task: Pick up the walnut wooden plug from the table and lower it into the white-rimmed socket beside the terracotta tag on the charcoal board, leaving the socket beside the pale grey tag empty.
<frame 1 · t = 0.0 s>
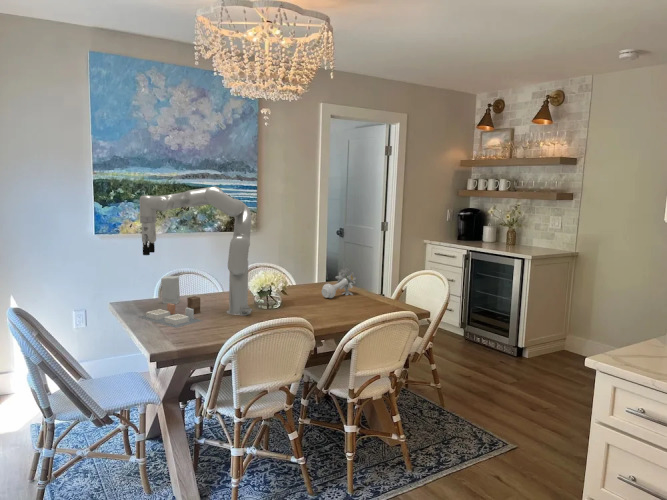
hand: (148, 253, 252), 31 cm above the table, tool pointing down, fingers open, 9 cm apart
terracotta tag: (171, 313, 253), resting on tag board
pale grey tag: (189, 318, 246), resting on tag board
skincare box: (170, 304, 276), on the table
walnut plug: (194, 314, 257), on the table
flower vase: (338, 296, 308), on the table
tag board: (169, 320, 245), on the table
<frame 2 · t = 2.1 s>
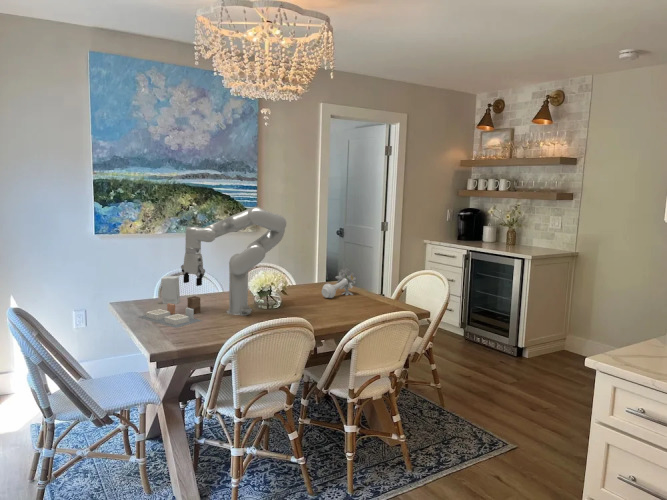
hand: (192, 284, 255), 16 cm above the table, tool pointing down, fingers open, 9 cm apart
nothing on the table moved.
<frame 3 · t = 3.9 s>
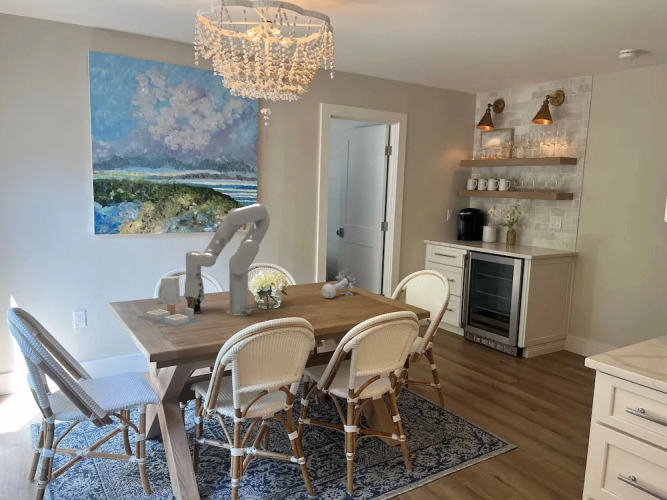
hand: (193, 310, 257), 2 cm above the table, tool pointing down, fingers closed on walnut plug, 4 cm apart
walnut plug: (194, 314, 257), on the table, touching gripper
everything else where it was.
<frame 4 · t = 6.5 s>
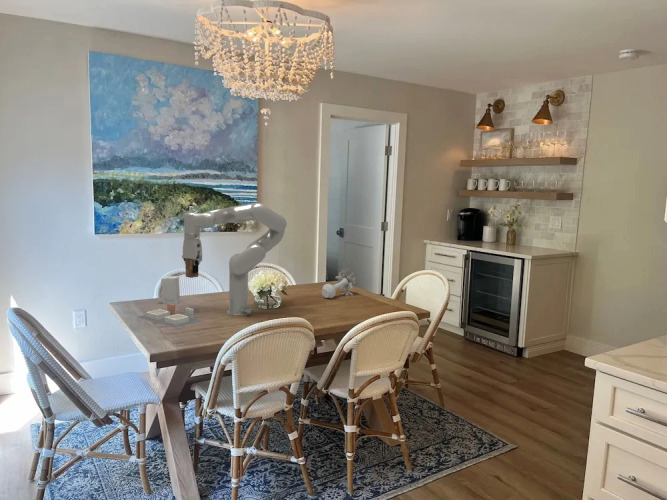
hand: (192, 271, 254), 22 cm above the table, tool pointing down, fingers closed on walnut plug, 4 cm apart
walnut plug: (192, 276, 254), point 20 cm above the table, touching gripper
everything else where it was.
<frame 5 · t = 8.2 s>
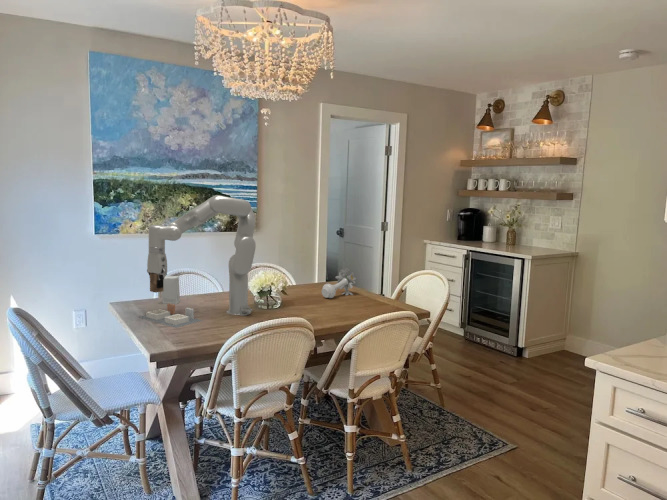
hand: (156, 286, 245), 16 cm above the table, tool pointing down, fingers closed on walnut plug, 4 cm apart
walnut plug: (156, 291, 245), point 14 cm above the table, touching gripper
everything else where it was.
when the fingers open (5 cm above the table, at t = 10.1 s): walnut plug drops 2 cm, resting on tag board.
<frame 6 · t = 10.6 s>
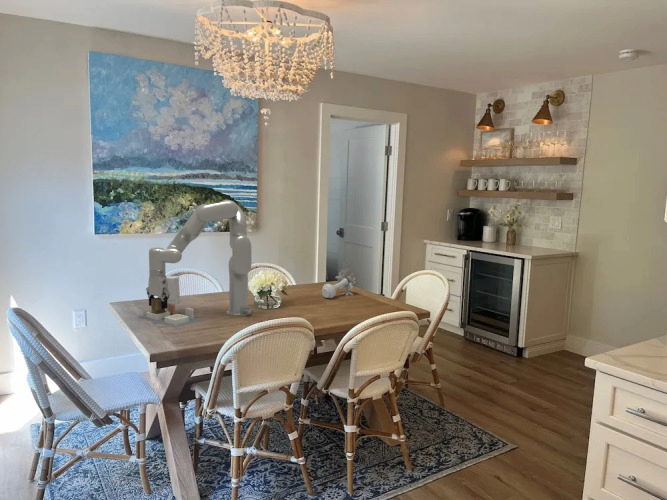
hand: (158, 306, 246), 6 cm above the table, tool pointing down, fingers open, 9 cm apart
walnut plug: (158, 316, 247), point 1 cm above the table, touching tag board
everything else where it was.
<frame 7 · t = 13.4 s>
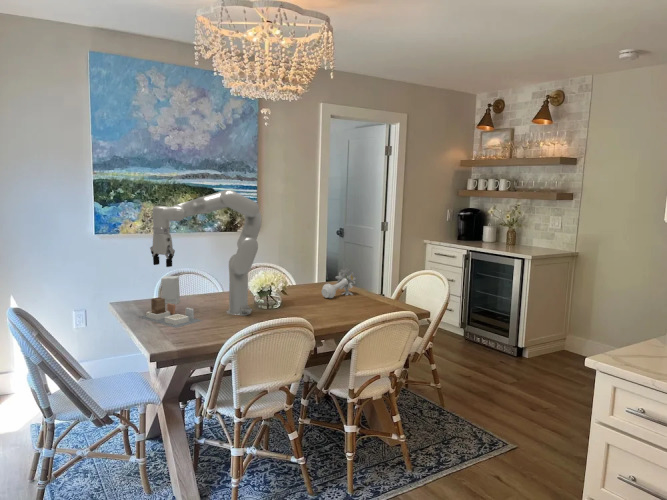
hand: (162, 265, 246), 27 cm above the table, tool pointing down, fingers open, 9 cm apart
nothing on the table moved.
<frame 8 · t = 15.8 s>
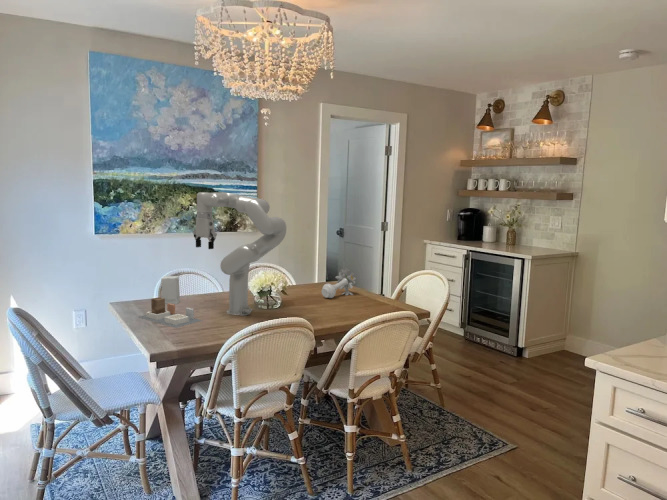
hand: (204, 248, 264), 33 cm above the table, tool pointing down, fingers open, 9 cm apart
nothing on the table moved.
at the end: walnut plug 0.0 cm from the target spot on the tag board, point 1.2 cm above the tag board's base; walnut plug tilted 0°; the gripper is holding nothing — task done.
